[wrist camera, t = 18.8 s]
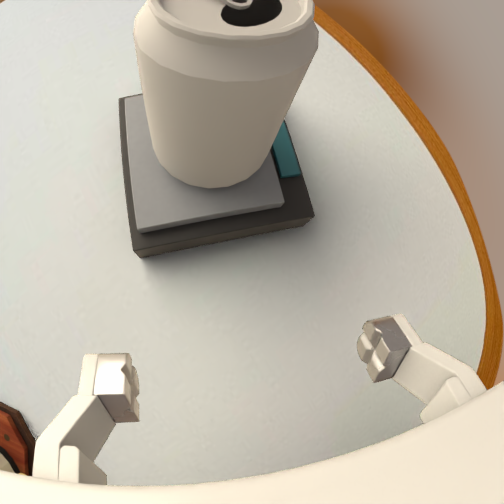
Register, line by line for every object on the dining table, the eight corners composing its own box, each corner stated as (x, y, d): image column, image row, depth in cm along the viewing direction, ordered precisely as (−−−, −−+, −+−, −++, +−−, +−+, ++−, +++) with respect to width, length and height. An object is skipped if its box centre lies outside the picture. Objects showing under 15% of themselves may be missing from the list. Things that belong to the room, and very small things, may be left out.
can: (221, 217, 19) (258, 83, 8) (130, 150, 19) (88, 1, 8) (288, 137, 21) (361, 2, 10) (203, 82, 21) (220, -60, 10)
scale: (264, 96, 26) (273, 70, 22) (303, 226, 24) (320, 211, 20) (123, 116, 23) (116, 90, 20) (139, 258, 21) (129, 248, 18)
